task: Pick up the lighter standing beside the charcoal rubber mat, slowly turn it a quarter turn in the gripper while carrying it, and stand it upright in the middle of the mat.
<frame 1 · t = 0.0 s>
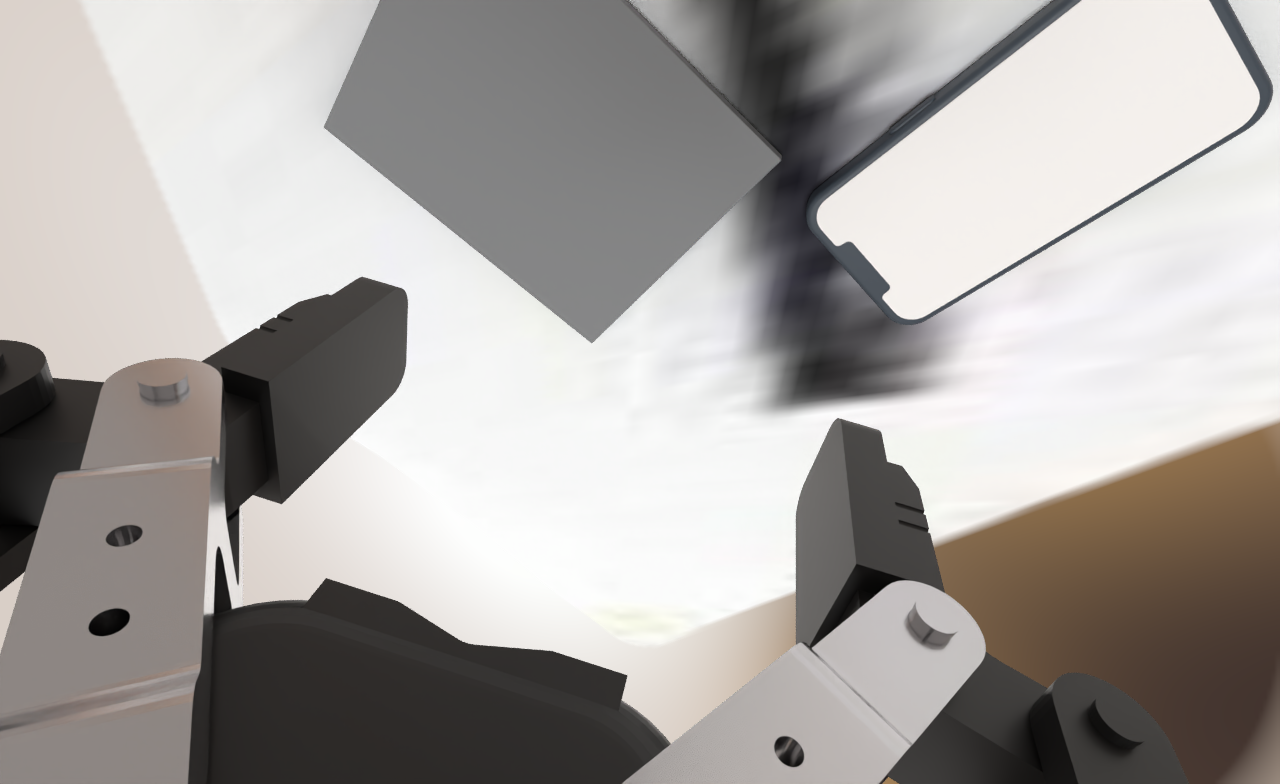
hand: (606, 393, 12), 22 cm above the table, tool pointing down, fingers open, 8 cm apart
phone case: (1005, 154, 29), on the table
rubber mat: (541, 138, 33), on the table
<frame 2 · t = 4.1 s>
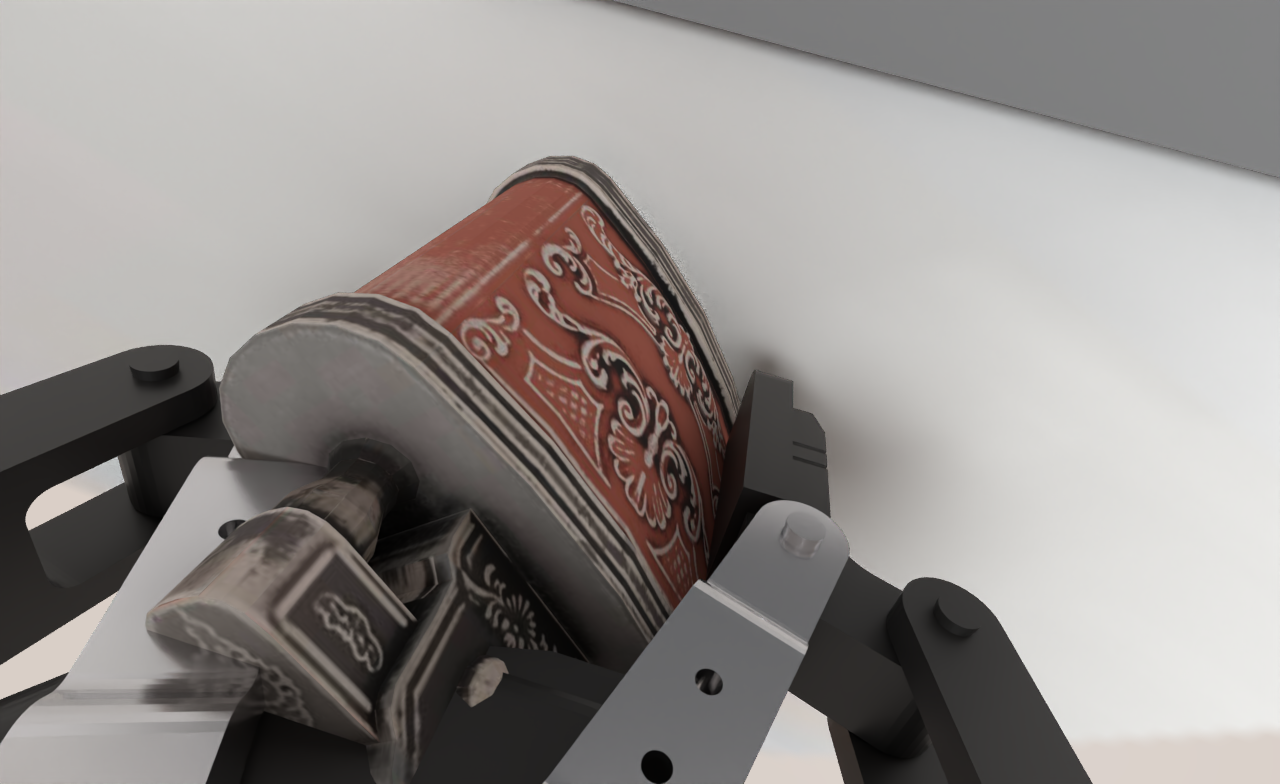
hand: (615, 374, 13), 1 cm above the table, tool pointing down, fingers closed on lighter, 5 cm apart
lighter: (633, 338, 14), on the table, touching gripper
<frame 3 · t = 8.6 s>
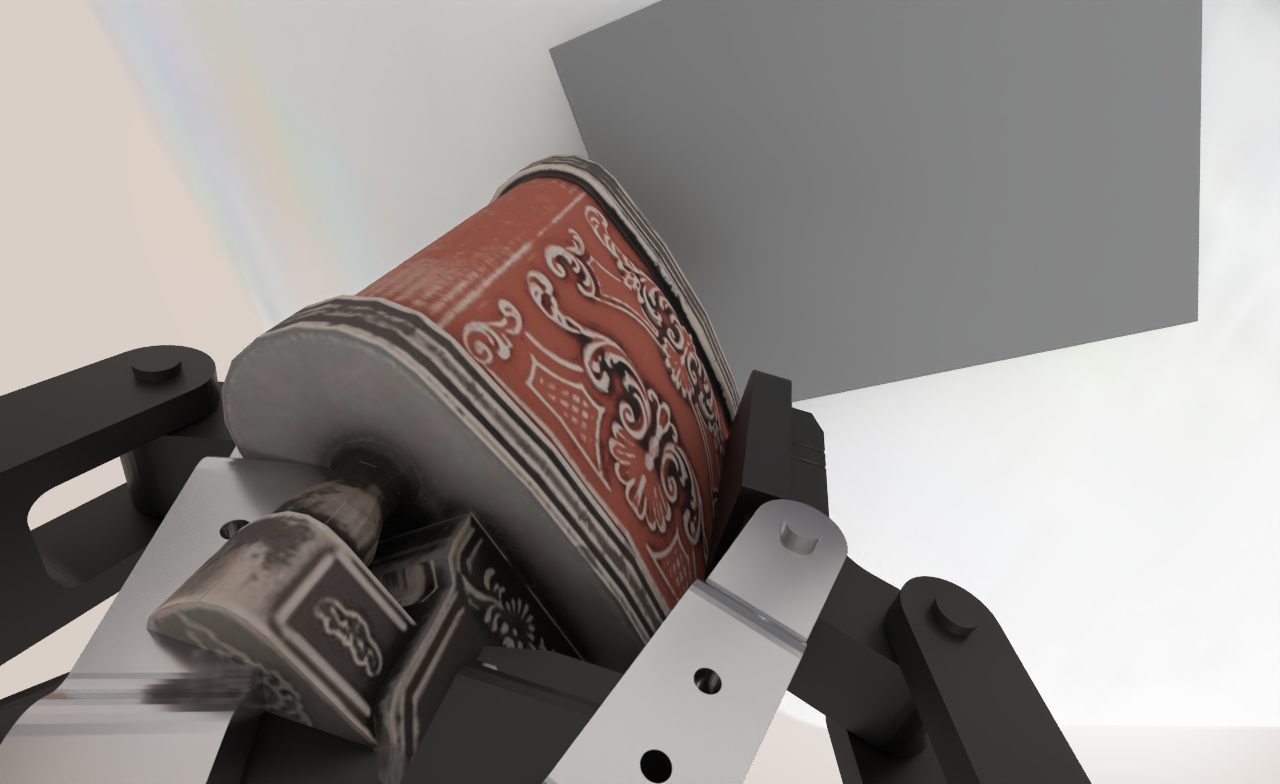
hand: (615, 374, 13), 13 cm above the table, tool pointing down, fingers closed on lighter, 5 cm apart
rubber mat: (873, 181, 23), on the table
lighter: (636, 338, 14), point 12 cm above the table, touching gripper
when the fingers open (3 cm above the table, at t = 12.9 s): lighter stays where it is, resting on rubber mat.
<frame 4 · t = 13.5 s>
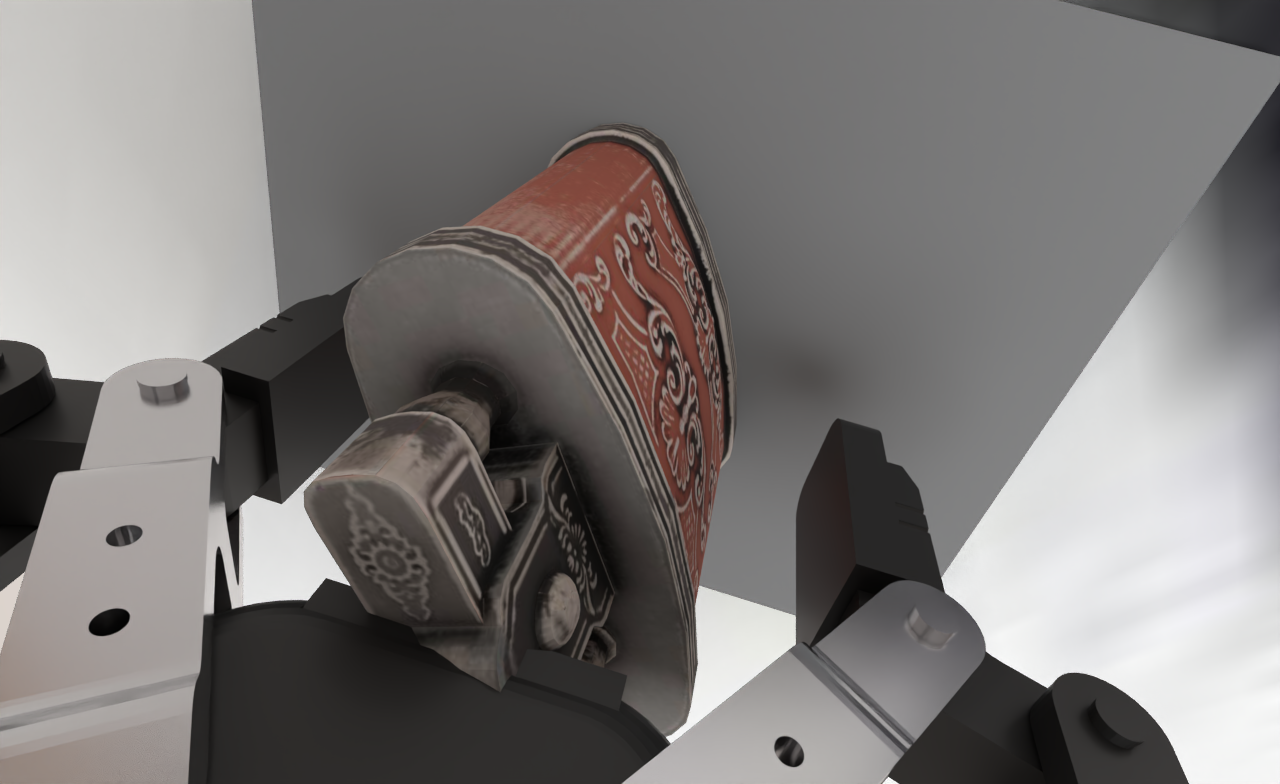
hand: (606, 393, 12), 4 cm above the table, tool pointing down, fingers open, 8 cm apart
rubber mat: (646, 308, 15), on the table
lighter: (654, 309, 15), resting on rubber mat
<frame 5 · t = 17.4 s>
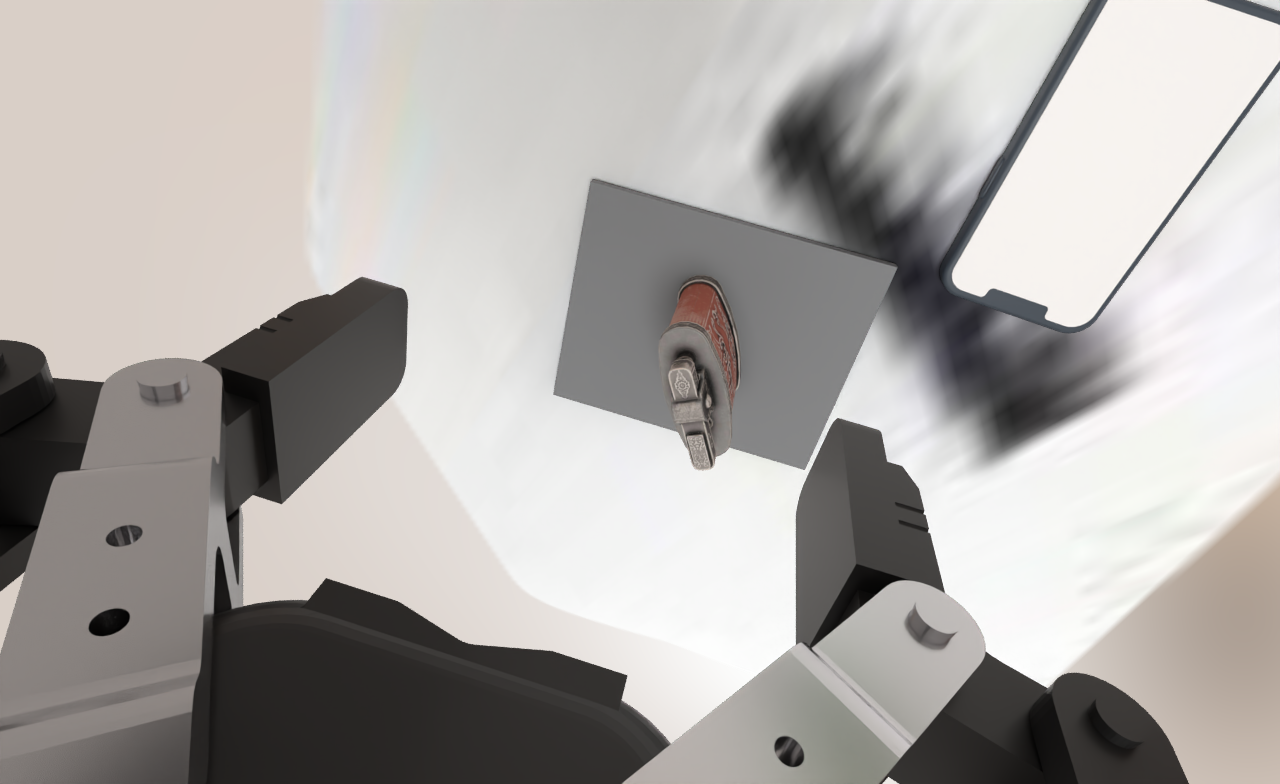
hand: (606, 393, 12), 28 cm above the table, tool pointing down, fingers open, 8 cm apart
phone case: (1087, 166, 34), on the table
rubber mat: (707, 333, 42), on the table
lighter: (711, 334, 42), resting on rubber mat
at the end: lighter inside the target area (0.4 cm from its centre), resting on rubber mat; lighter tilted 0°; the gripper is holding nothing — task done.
